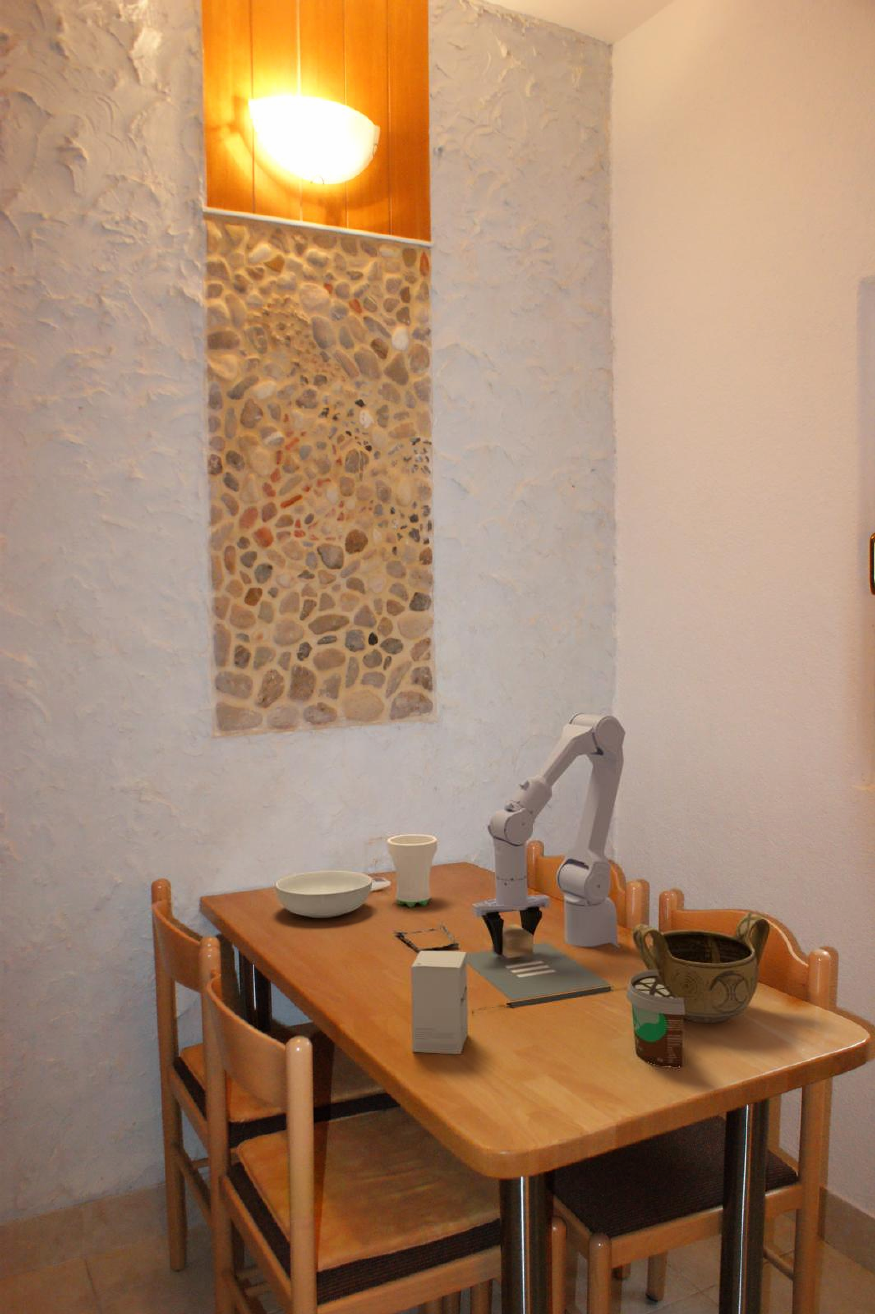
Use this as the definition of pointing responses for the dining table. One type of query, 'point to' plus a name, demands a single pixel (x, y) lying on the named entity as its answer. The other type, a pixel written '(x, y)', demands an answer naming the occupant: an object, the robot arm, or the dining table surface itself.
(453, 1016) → the supplement box
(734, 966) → the ceramic bowl
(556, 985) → the slate board
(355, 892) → the cream oval piece
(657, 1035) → the food container
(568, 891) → the robot arm
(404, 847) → the cup
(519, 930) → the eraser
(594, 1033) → the dining table surface
